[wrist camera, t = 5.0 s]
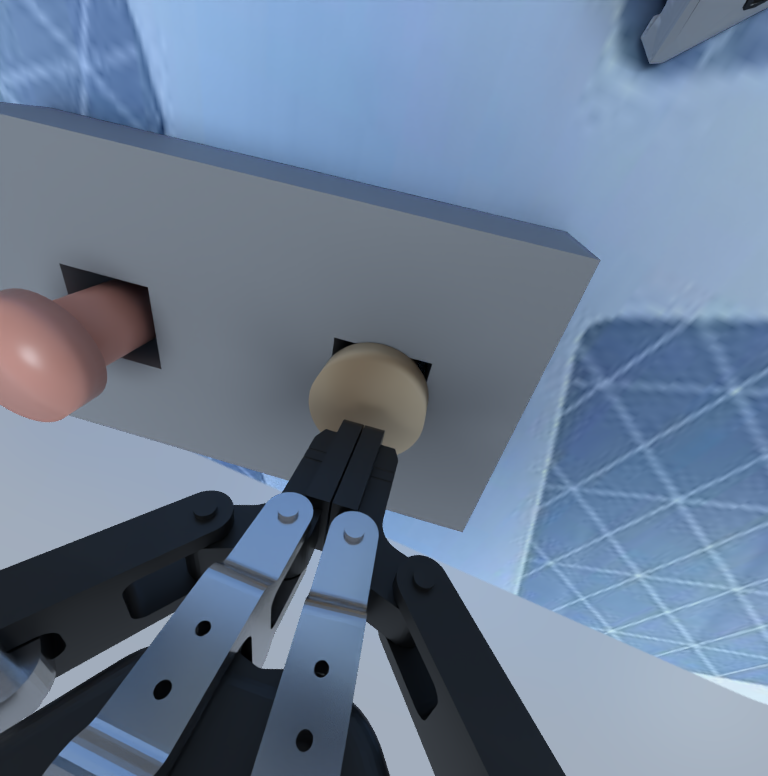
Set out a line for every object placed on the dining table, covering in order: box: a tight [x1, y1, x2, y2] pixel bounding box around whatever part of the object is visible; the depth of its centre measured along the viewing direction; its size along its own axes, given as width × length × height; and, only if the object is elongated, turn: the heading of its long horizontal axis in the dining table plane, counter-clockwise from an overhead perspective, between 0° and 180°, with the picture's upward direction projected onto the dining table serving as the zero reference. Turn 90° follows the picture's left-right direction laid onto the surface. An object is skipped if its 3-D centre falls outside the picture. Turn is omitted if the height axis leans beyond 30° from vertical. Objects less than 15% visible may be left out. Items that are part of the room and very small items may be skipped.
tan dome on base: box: [309, 343, 429, 455], centre depth 17 cm, size 5×5×6 cm
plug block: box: [0, 102, 600, 532], centre depth 18 cm, size 24×14×5 cm, turn 79°
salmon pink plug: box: [0, 279, 156, 422], centre depth 15 cm, size 5×5×6 cm
